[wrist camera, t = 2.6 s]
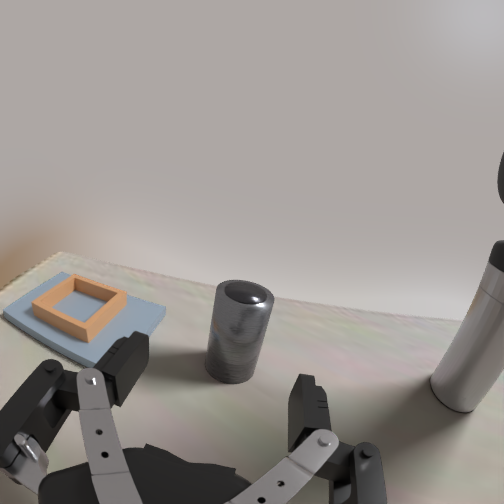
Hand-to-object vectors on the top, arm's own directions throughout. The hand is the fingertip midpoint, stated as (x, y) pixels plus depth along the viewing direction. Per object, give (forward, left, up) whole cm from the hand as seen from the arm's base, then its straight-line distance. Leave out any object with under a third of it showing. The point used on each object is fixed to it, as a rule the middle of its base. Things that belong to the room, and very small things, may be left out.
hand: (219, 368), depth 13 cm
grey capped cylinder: (-7, -9, -10) cm, 15 cm away
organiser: (+8, -20, -10) cm, 24 cm away
